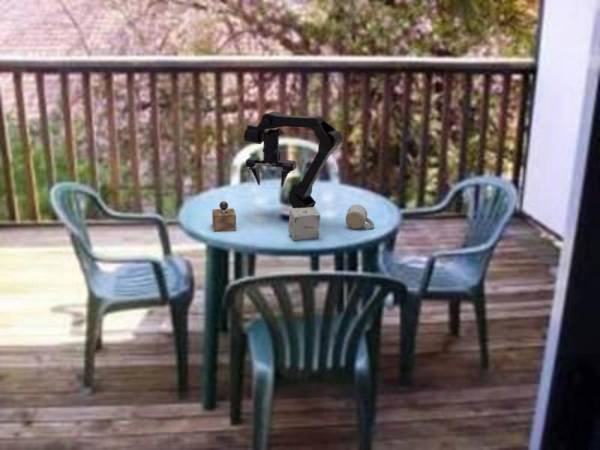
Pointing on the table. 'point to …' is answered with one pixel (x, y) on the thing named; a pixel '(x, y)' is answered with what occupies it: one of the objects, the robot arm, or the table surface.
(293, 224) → the beige cardboard box
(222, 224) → the wooden box
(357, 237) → the table surface
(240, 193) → the table surface
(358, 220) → the ceramic mug
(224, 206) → the black ball knob
